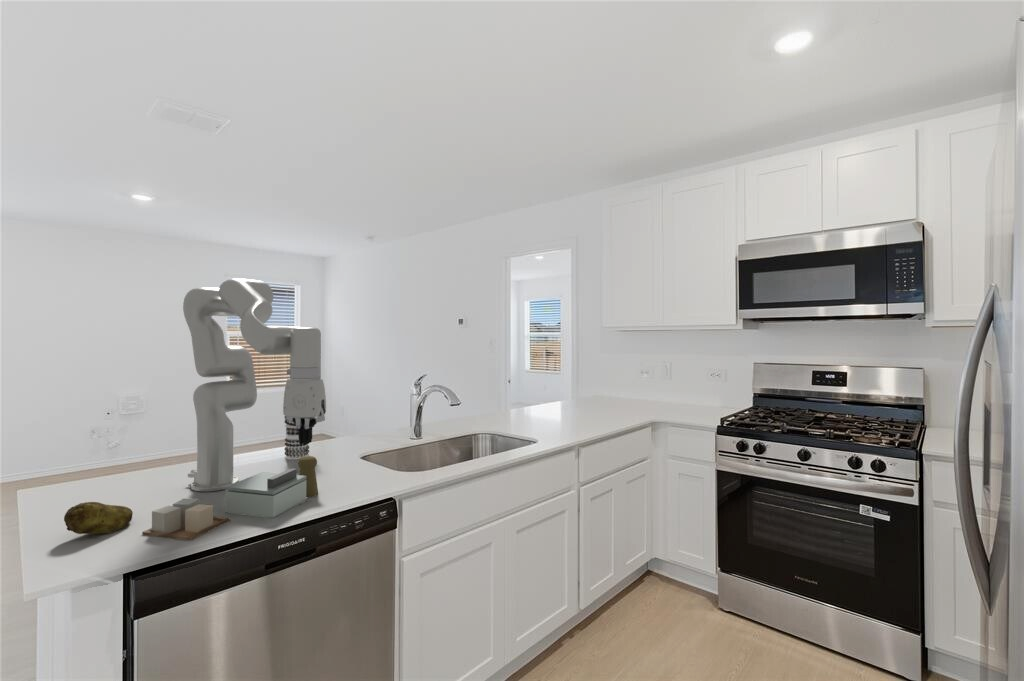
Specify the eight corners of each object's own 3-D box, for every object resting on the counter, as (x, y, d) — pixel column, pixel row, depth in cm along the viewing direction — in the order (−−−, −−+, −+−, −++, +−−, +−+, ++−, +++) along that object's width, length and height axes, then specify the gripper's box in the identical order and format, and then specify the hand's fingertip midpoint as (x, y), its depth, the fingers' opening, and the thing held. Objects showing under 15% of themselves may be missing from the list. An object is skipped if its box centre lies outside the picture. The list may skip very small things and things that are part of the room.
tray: (142, 536, 116) (142, 531, 116) (185, 517, 127) (185, 513, 127) (190, 542, 113) (190, 537, 113) (230, 522, 125) (230, 518, 125)
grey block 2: (172, 524, 122) (172, 504, 122) (183, 518, 126) (183, 498, 126) (188, 524, 122) (188, 504, 121) (199, 518, 126) (199, 498, 125)
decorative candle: (295, 452, 193) (296, 387, 192) (315, 454, 190) (316, 389, 189) (277, 458, 184) (278, 390, 183) (298, 460, 181) (298, 392, 180)
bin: (225, 514, 130) (225, 491, 130) (262, 496, 144) (262, 475, 143) (273, 519, 127) (273, 496, 127) (306, 500, 141) (306, 479, 141)
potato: (138, 530, 119) (138, 497, 119) (66, 547, 109) (66, 511, 109) (130, 521, 124) (130, 489, 124) (60, 536, 115) (60, 502, 114)
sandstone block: (185, 531, 118) (185, 510, 118) (198, 524, 122) (198, 504, 122) (199, 532, 117) (199, 511, 117) (213, 526, 121) (213, 505, 121)
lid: (225, 490, 130) (225, 477, 130) (262, 474, 143) (262, 463, 143) (273, 494, 127) (273, 482, 127) (306, 478, 141) (306, 467, 141)
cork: (310, 498, 143) (310, 460, 142) (291, 496, 144) (291, 458, 144) (322, 491, 149) (322, 455, 148) (304, 490, 150) (304, 453, 150)
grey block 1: (151, 532, 117) (151, 511, 117) (168, 526, 121) (168, 505, 121) (164, 535, 116) (164, 513, 115) (180, 528, 119) (180, 507, 119)
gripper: (271, 374, 130) (270, 444, 130) (323, 376, 127) (323, 447, 127) (289, 371, 137) (289, 438, 138) (339, 373, 134) (338, 441, 135)
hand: (305, 442), depth 133 cm, fingers closed
